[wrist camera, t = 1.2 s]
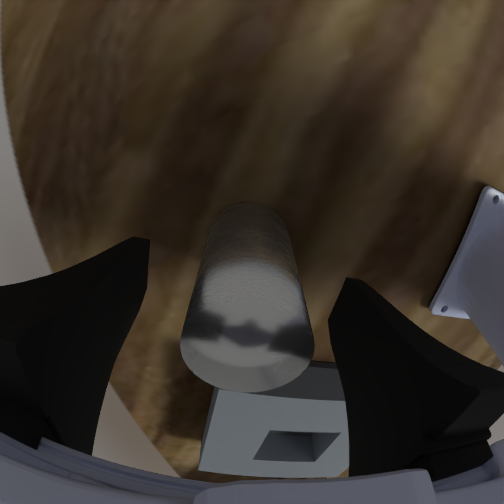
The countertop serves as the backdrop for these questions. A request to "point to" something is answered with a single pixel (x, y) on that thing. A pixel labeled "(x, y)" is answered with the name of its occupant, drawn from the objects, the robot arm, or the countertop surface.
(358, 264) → the countertop surface
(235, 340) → the peg
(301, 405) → the hole block
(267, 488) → the robot arm
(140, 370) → the countertop surface
